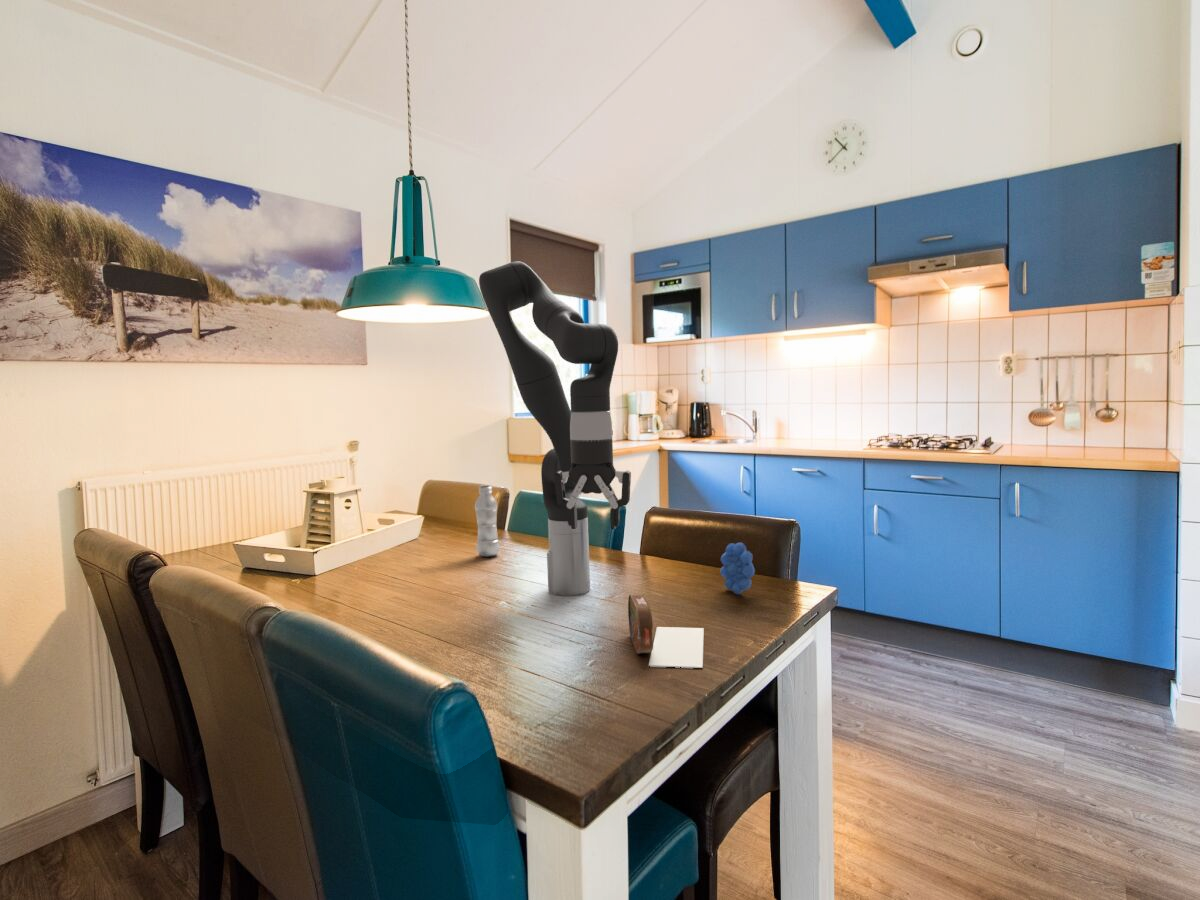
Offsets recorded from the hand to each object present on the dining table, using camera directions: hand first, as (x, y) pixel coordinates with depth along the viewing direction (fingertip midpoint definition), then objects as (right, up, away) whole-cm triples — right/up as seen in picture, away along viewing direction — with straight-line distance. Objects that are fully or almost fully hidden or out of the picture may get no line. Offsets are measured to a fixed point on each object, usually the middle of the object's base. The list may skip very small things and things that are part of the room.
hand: (594, 528), depth 122 cm
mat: (+15, -21, 0) cm, 26 cm away
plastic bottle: (-31, -16, +70) cm, 78 cm away
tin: (+9, -22, +1) cm, 23 cm away
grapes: (+33, -18, +29) cm, 47 cm away
